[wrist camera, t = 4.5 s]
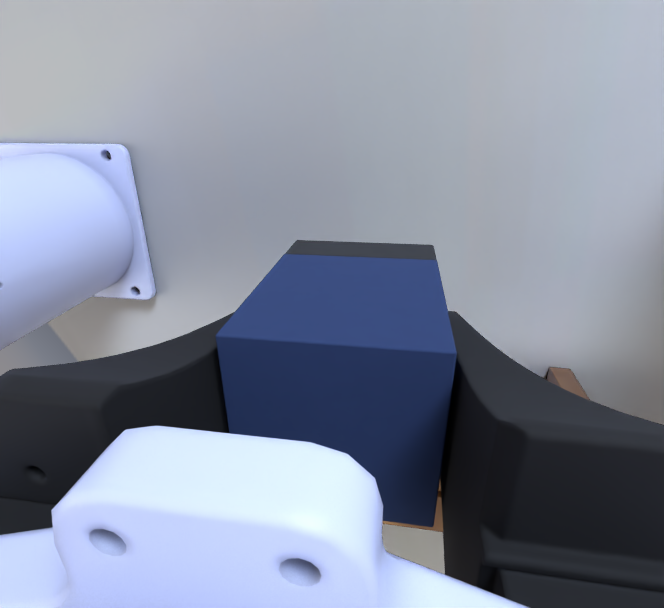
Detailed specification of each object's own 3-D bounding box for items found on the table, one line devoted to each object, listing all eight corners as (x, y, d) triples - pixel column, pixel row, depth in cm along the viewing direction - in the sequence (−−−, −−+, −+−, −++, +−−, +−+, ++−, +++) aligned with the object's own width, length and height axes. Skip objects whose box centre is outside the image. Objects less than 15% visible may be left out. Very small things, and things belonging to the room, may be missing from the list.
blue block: (295, 239, 14) (214, 334, 8) (433, 244, 13) (457, 351, 7) (304, 411, 17) (248, 574, 11) (417, 422, 16) (423, 602, 10)
